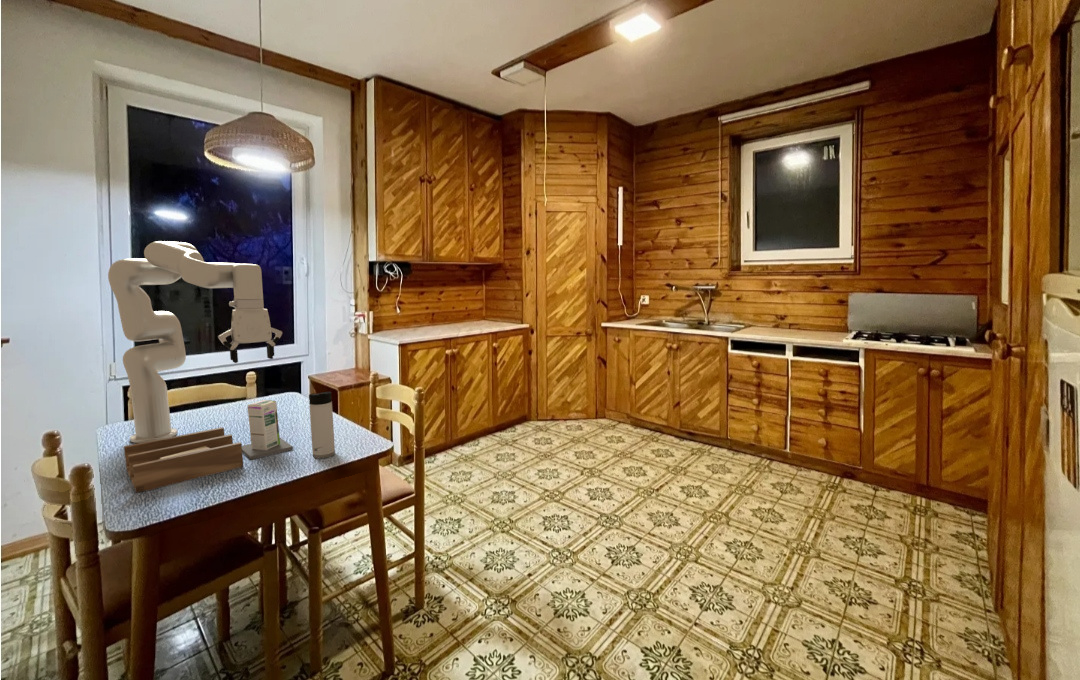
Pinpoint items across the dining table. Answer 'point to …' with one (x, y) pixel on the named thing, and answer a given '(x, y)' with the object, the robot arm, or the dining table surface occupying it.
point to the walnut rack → (181, 458)
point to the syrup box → (263, 425)
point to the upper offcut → (187, 452)
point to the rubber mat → (261, 453)
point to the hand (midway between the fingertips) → (253, 360)
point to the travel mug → (322, 425)
